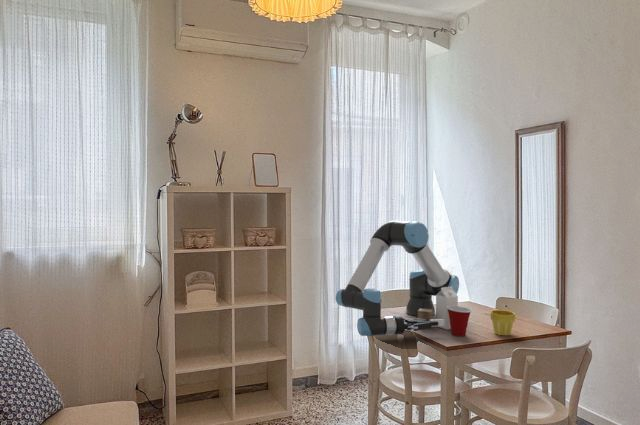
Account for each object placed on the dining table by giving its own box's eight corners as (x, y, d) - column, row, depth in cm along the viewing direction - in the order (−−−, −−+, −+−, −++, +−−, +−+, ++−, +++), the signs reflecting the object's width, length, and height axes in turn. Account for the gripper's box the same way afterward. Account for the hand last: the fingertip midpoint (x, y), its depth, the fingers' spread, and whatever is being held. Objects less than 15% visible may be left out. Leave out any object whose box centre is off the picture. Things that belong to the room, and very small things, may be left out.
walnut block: (417, 327, 220) (417, 310, 219) (419, 324, 225) (419, 308, 225) (430, 329, 217) (430, 311, 217) (432, 326, 223) (432, 309, 223)
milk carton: (435, 326, 222) (435, 286, 222) (446, 324, 225) (446, 285, 225) (446, 330, 216) (446, 288, 215) (457, 328, 219) (458, 287, 219)
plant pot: (519, 337, 204) (519, 314, 204) (496, 337, 204) (496, 315, 203) (508, 330, 214) (508, 309, 214) (486, 331, 214) (486, 309, 214)
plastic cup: (473, 338, 202) (473, 310, 201) (447, 337, 203) (447, 309, 203) (470, 332, 212) (470, 305, 212) (445, 330, 214) (445, 304, 214)
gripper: (387, 330, 207) (436, 327, 212) (399, 338, 194) (450, 334, 200) (387, 313, 207) (436, 310, 212) (399, 320, 194) (450, 317, 199)
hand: (443, 322), depth 206 cm, fingers closed
